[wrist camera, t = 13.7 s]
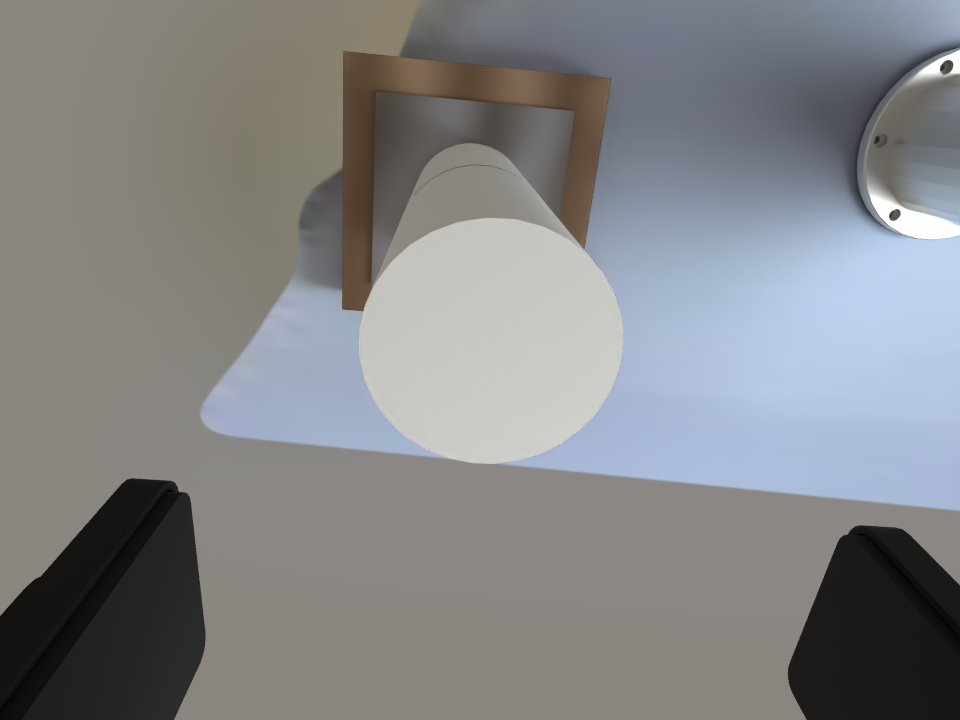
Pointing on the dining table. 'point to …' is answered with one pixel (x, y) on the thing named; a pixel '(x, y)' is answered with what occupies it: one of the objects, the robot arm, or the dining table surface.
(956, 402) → the dining table surface
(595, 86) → the walnut base
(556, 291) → the cylindrical container
